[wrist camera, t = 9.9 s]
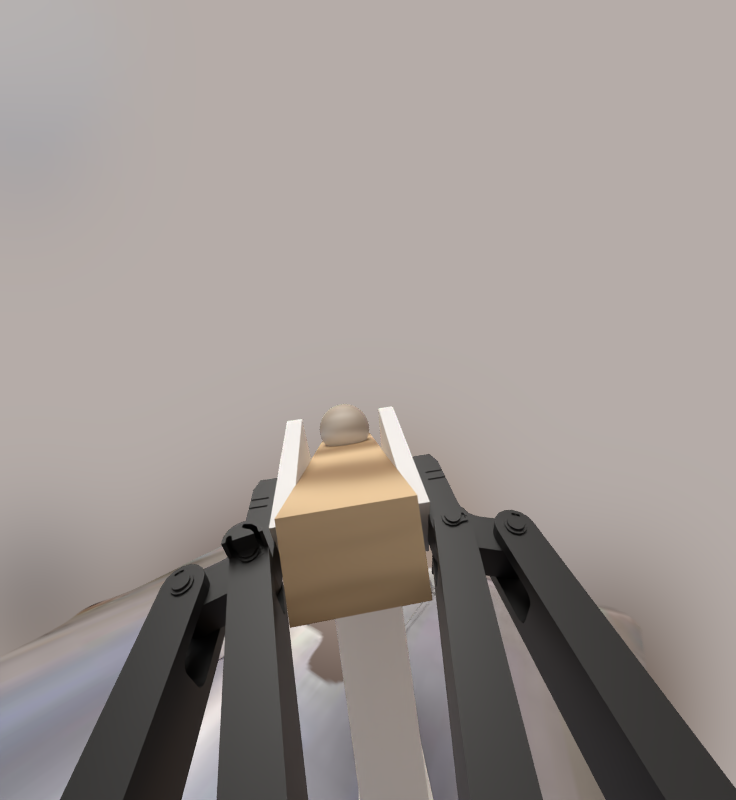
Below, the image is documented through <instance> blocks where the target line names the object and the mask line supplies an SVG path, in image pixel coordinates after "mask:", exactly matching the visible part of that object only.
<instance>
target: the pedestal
mask: <svg viewBox="0 0 736 800" xmlns="http://www.w3.org/2000/svg"><path fill="white" fill-rule="evenodd" d="M335 620H336V628H337V635H338V643H339V650H340V657H341V664H342V672H343V679H344V686H345V694H346V701H347V708H348V716H349V723H350V730H351V738H352V745H353V752H354V759H355V767H356V774H357V781H358V789H359V800H433V796H432V791H431V787H430V782H429V778H428V773H427V768H426V764H425V759H424V755H423V750H422V745H421V739H420V732H419V725H418V717H417V710H416V703H415V696H414V688H413V681H412V674H411V667H410V659H409V652H408V645H407V637H406V630H405V623H404V616H403V608H402V606H400V607H395V608H390V609H385V610H379V611H374V612H369V613H364V614H359V615H353V616H348V617H343V618H338V619H335Z"/></svg>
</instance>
